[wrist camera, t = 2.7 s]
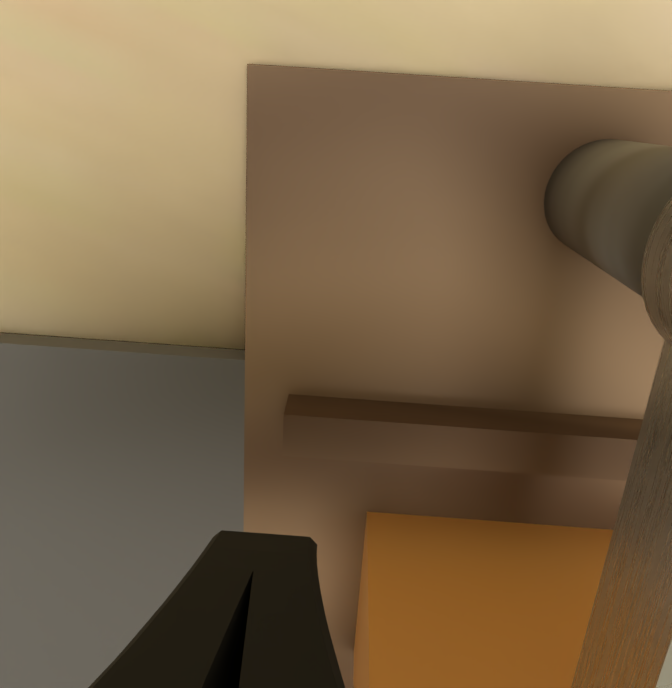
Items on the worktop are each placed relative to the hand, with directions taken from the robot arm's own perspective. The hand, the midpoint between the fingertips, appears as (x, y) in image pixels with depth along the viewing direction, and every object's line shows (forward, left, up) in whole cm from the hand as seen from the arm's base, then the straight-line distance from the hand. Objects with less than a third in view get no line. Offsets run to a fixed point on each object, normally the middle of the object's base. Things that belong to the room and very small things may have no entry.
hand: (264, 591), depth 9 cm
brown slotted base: (-2, -6, -6) cm, 9 cm away
